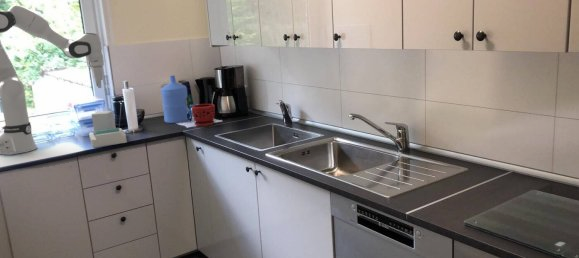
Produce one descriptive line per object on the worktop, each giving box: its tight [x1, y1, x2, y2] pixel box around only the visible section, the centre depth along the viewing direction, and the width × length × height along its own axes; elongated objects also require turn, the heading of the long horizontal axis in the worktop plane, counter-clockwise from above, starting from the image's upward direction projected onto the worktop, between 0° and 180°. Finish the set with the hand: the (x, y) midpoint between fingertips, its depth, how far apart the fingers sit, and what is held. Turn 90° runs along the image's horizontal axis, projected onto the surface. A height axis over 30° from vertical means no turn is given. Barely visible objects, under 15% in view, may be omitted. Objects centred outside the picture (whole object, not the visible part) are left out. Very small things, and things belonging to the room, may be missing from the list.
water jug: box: [160, 75, 190, 124], centre depth 324 cm, size 16×16×28 cm
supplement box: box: [91, 110, 117, 136], centre depth 289 cm, size 9×9×15 cm
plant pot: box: [191, 103, 216, 128], centre depth 308 cm, size 13×13×12 cm
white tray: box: [88, 127, 128, 148], centre depth 284 cm, size 20×17×6 cm
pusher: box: [94, 127, 119, 135], centre depth 279 cm, size 4×12×7 cm, turn 114°
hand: (99, 87), depth 295 cm, fingers open, 7 cm apart
